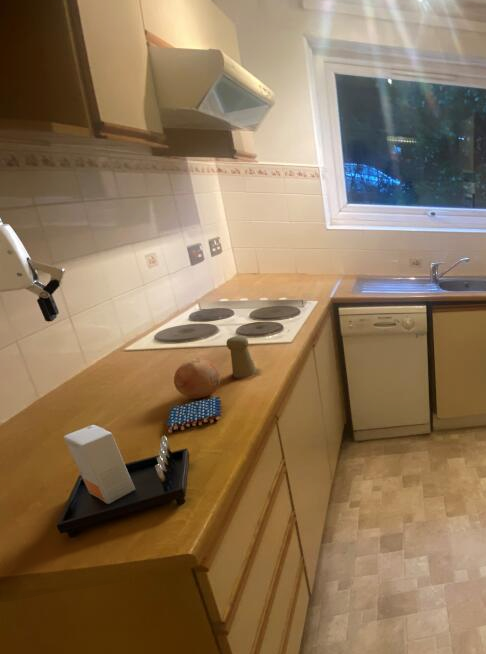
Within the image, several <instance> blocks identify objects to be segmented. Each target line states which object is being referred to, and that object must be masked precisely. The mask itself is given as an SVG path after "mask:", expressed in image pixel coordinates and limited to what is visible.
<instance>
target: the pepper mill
mask: <svg viewBox="0 0 486 654" xmlns="http://www.w3.org/2000/svg"><path fill="white" fill-rule="evenodd" d="M226 347H227V349H228V350H229V351H230V358H231V370H232V376H233V377H234V378H246V377H250V376H253V375H255V374H256V373H257V372H258V371H257V368H256V364H255V362H254V360H253V358H252V356H251V353H250V350H249V348H248V347H249V340H248V338H247V337H246V336H245V335H244V336H243V335H235V336H232V337H229V338H228V339H226Z"/></svg>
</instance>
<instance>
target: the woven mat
mask: <svg viewBox="0 0 486 654" xmlns="http://www.w3.org/2000/svg"><path fill="white" fill-rule="evenodd" d="M220 398H221V397H220V396H216V397H213V398H212V397H211V398H209V399H202V400H199V401H197V400H196V401H195V402H189V403H185V404H180V405H175V406H171V407H170V408H169V410H168V413H167V414H168V415H167V421H166V422H167V423H166V427H165V429H166V430H167V429H168V433H170V434H171V433H172V432H173V430H178V429H180V430H181V431H184V430H185V426H186V427H187V428H190V427H191V425H192V427H196V426H197V423H198V425H199V426H202V425H203V423H208V422H209V423H210V424H213V423H214V422H215V421H214V419H215V420H216V421H219V420H220V417H222V405H221V404H222V399H220Z"/></svg>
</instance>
